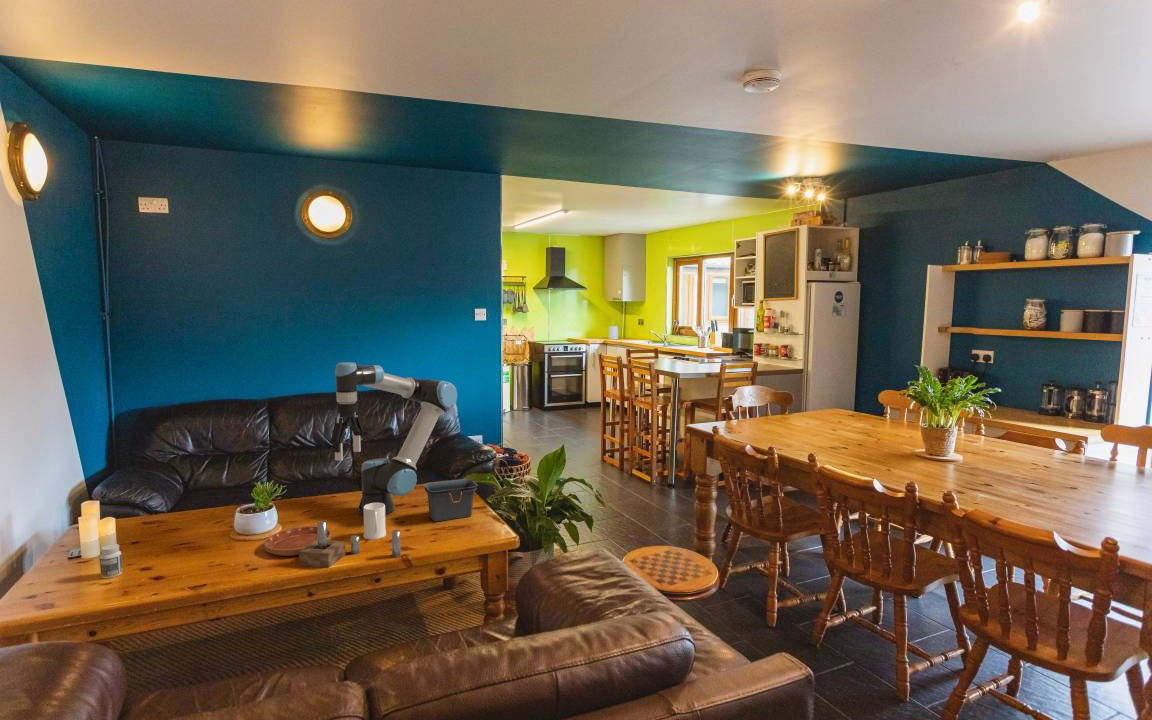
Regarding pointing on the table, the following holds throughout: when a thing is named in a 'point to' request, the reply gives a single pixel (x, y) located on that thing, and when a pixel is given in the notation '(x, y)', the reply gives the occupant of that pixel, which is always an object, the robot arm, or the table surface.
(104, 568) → the pill bottle
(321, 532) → the long pin
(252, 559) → the table surface
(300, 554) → the socket block
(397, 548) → the medium pin
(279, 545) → the saucer
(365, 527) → the mug
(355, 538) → the short pin
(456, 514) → the storage bin
